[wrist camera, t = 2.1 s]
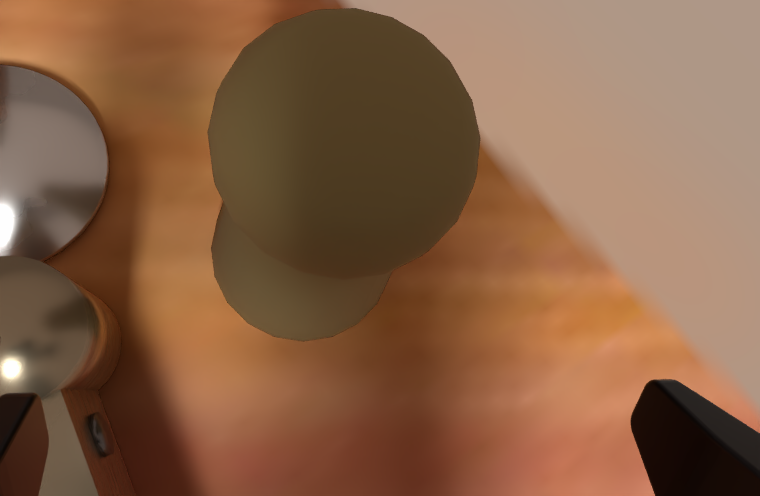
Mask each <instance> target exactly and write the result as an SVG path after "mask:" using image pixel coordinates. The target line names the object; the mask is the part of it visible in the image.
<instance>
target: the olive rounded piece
mask: <svg viewBox="0 0 760 496" xmlns="http://www.w3.org/2000/svg"><path fill="white" fill-rule="evenodd" d="M208 139H209V147H210V155H211V162H212V170H213V177H214V182H215V185H216V187H217V189H218V191H219V193H220V195H221V197H222V200H223V202H224V203H223V206H222V208H221V211H220V214H219V217H218V219H217V223H216V228H215V233H214V237H213V242H212V247H211V251H212V259H213V267H214V275H215V278H216V280H217V282H218V284H219V286H220V288H221V290H222V292H223V294H224V296H225V298H226V301H227V303H228V304H229V305H230V306H231V307H232V308H233V309H234V310H235V311H236V312H237V313H238V314H239V315H240V316H241V317H242V318H243V319H244V320H245V321H246V322H247V323H248V324H250V325H252V326H254V327H256V328H258V329H260V330H262V331H264V332H266V333H268V334H270V335H272V336H274V337H279V338H285V339H291V340H298V341H309V340H315V339H321V338H328V337H333V336H335V335H337V334H338V333H340V332H342V331H344V330H346V329H348V328H350V327H352V326H354V325H356V324H358V323H359V321H360V320H361V319H362V318H363V317H364V316H365V315H366V314H367V313H368V312H369V311H370V310H371V309H372V308H373V307H374V306H375V305H376V304H377V302H378V300H379V298H380V296H381V294H382V292H383V290H384V288H385V286H386V284H387V282H388V280H389V277H390V275H391V273H392V271H393V270H395V269H397V268H399V267H401V266H403V265H405V264H407V263H409V262H411V261H413V260H415V259H417V258H419V257H421V256H422V255H423V254H425V253H426V252H427V251H429V250H430V249H431V248H432V247H433V246H434V245H435V244H436V243H437V242H438V241H439V240H440V239H441V238H442V237H443V236H444V235H445V234H446V233H447V231H448V230H449V229H450V228H451V227H452V226H453V225H454V224H455V223H456V222H457V220H458V218H459V216H460V214H461V212H462V210H463V207H464V205H465V203H466V201H467V199H468V197H469V195H470V192H471V190H472V188H473V185H474V182H475V179H476V175H477V166H478V156H479V146H480V134H479V130H478V125H477V120H476V116H475V111H474V107H473V102H472V99H471V98H470V96H469V94H468V92H467V91H466V89H465V87H464V85H463V83H462V82H461V80H460V78H459V76H458V74H457V73H456V71H455V69H454V67H453V66H452V64H451V62H450V61H449V60H448V59H447V58H446V57H445V56H444V55H443V54H442V53H441V52H440V51H439V50H438V49H437V48H436V47H435V46H434V45H433V44H432V43H431V42H430V41H429V40H428V39H427V38H426V37H425V36H424V35H422V34H420V33H419V32H417V31H415V30H414V29H412V28H410V27H408V26H406V25H404V24H403V23H401V22H399V21H398V20H396V19H394V18H392V17H388V16H384V15H381V14H377V13H373V12H369V11H364V10H361V9H356V8H351V9H324V10H315V11H311V12H308V13H305V14H303V15H300V16H297V17H294V18H291V19H288V20H285V21H282V22H280V23H277V24H274V25H273V26H272V27H270V28H269V29H268V30H266V31H265V32H264V33H263V34H261V35H260V36H259V37H257V38H256V39H255V40H253V41H252V42H251V43H250V44H248V45H247V46H246V47H244V48H243V50H242V51H241V53H240V54H239V56H238V58H237V59H236V61H235V62H234V64H233V65H232V67H231V68H230V70H229V72H228V73H227V75H226V76H225V78H224V79H223V81H222V83H221V85H220V87H219V89H218V91H217V93H216V97H215V102H214V106H213V111H212V115H211V120H210V124H209V128H208Z"/></svg>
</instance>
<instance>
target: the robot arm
mask: <svg viewBox="0 0 760 496" xmlns="http://www.w3.org/2000/svg"><path fill="white" fill-rule="evenodd" d="M631 429H632V433H633V435H634V438H635V441H636V444H637V447H638V449H639V452H640V455H641V458H642V460H643V463H644V466H645V469H646V471H647V474H648V477H649V480H650V483H651V485H652V488H653V491H654V494H655V496H760V433H758V432H757V431H755V430H754V429H752V428H750V427H749V426H747V425H746V424H744V423H743V422H741V421H739V420H738V419H736V418H735V417H733V416H732V415H730V414H728V413H727V412H725V411H724V410H722V409H721V408H719V407H718V406H716V405H714V404H713V403H711V402H710V401H708V400H707V399H705V398H704V397H702V396H700V395H699V394H697V393H696V392H694V391H693V390H691V389H689V388H688V387H686V386H685V385H683V384H682V383H680V382H678V381H676V380H672V379H660V380H651V381H649V382H648V383H647V384H646V385H645V387H644V389H643V391H642V393H641V396H640V398H639V400H638V402H637V404H636V406H635V408H634V410H633V413H632V415H631ZM48 448H49V435H48V430H47V425H46V420H45V415H44V410H43V405H42V401H41V398H40V396H39V395H38V394H36V393H33V392H28V393H6V394H3V395H1V396H0V496H39V491H40V486H41V482H42V477H43V473H44V468H45V464H46V459H47V454H48Z"/></svg>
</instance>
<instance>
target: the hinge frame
mask: <svg viewBox="0 0 760 496" xmlns="http://www.w3.org/2000/svg"><path fill="white" fill-rule="evenodd" d="M108 177H109V157H108V150H107V145H106V142H105V139H104V136H103V133H102V131H101V129H100V127H99V125H98V123H97V121H96V119H95V118H94V116H93V115H92V113H91V112H90V110H89V109H88V108H87V106H86V105H85V104H84V103H83V102H82V101H81V100H80V98H78V97H77V96H76V95H75V94H74V93H73V92H71V91H70V90H69V89H68V88H66V87H65V86H63V85H62V84H60V83H59V82H57V81H55V80H53V79H51V78H49V77H47V76H45V75H43V74H40V73H37V72H35V71H32V70H28V69H24V68H20V67H16V66H8V65H0V396H1V395H3V394H6V393H28V392H33V393H36V394H38V395H39V396H40V398H41V401H42V405H43V410H44V415H45V420H46V425H47V430H48V435H49V448H48V454H47V459H46V464H45V468H44V473H43V477H42V482H41V486H40V491H39V496H136V493H135V490H134V488H133V485H132V482H131V479H130V477H129V474H128V471H127V469H126V466H125V463H124V461H123V458H122V455H121V452H120V450H119V447H118V444H117V442H116V439H115V436H114V433H113V431H112V428H111V425H110V423H109V420H108V417H107V415H106V412H105V409H104V406H103V404H102V401H101V398H100V396H99V393H98V390H99V389H100V388H101V387H102V386H103V385H104V384H105V383H106V382H107V380H108V379H109V378H110V376H111V375H112V373H113V371H114V370H115V368H116V365H117V363H118V361H119V357H120V353H121V345H122V343H121V331H120V327H119V324H118V321H117V319H116V317H115V315H114V314H113V312H112V311H111V309H110V308H109V307H108V306H107V305H106V304H105V303H104V302H103V301H102V300H101V299H99V298H98V297H96V296H95V295H93V294H92V293H90V292H89V291H87V290H86V289H84V288H83V287H81V286H80V285H78V284H77V283H75V282H74V281H72V280H71V279H69V278H68V277H66V276H65V275H63V274H62V273H60V272H59V271H57V270H56V269H54V268H53V267H51V266H49V265H47V264H45V263H43V261H45V260H47V259H49V258H51V257H52V256H54V255H56V254H58V253H59V252H60V251H62V250H63V249H65V248H66V247H67V246H69V245H70V244H71V243H72V242H73V241H74V240H75V239H76V238H78V237H79V236H80V235H81V234H82V232H83V231H84V230H85V229H86V228H87V226H88V225H89V224H90V223H91V221H92V219H93V218H94V216H95V215H96V213H97V212H98V209H99V207H100V205H101V203H102V201H103V198H104V195H105V192H106V188H107V184H108Z"/></svg>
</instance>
